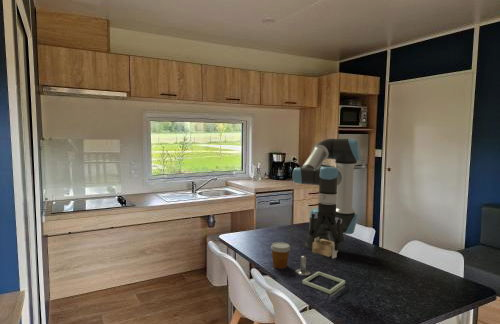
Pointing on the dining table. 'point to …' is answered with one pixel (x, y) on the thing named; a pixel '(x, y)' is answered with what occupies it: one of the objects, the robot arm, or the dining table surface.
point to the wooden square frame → (323, 247)
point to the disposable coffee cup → (280, 254)
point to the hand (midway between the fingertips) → (325, 254)
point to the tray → (323, 287)
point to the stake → (303, 267)
